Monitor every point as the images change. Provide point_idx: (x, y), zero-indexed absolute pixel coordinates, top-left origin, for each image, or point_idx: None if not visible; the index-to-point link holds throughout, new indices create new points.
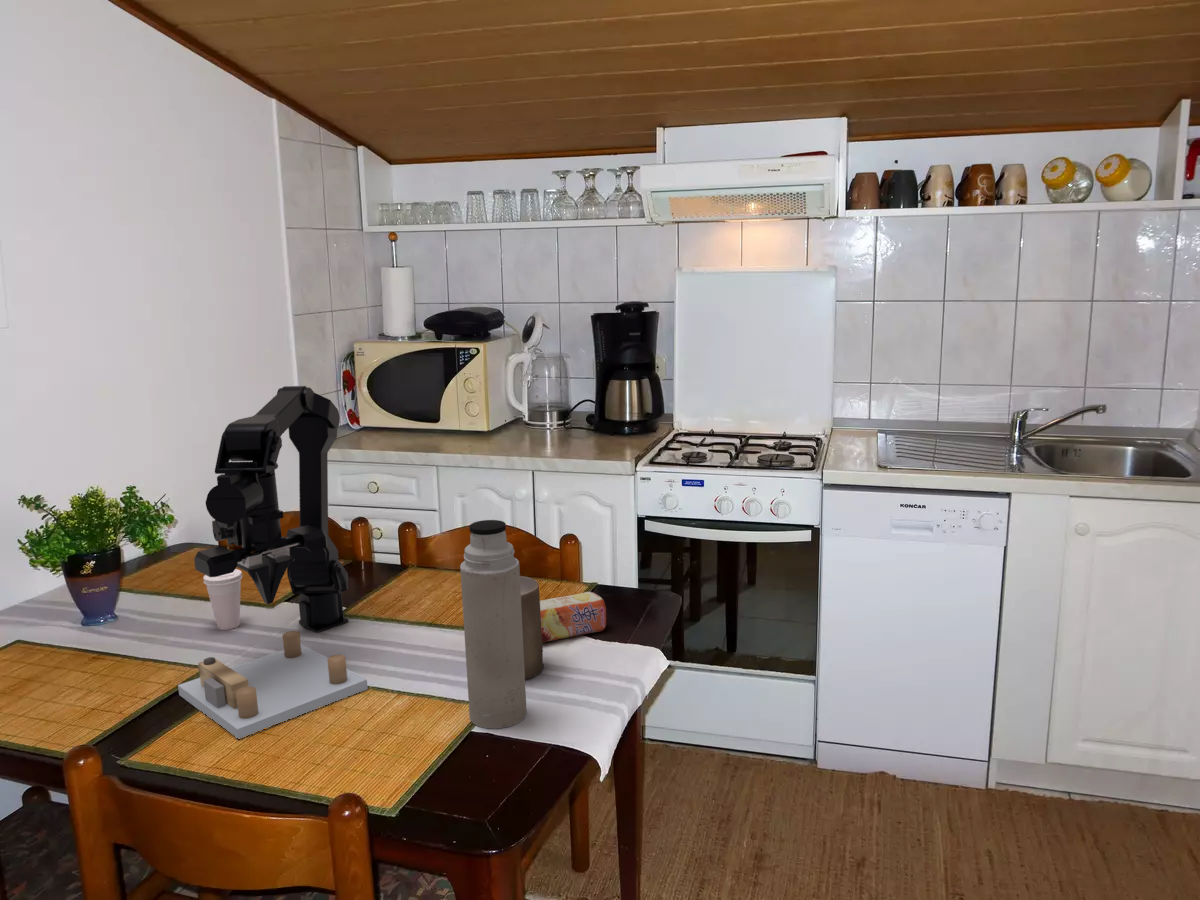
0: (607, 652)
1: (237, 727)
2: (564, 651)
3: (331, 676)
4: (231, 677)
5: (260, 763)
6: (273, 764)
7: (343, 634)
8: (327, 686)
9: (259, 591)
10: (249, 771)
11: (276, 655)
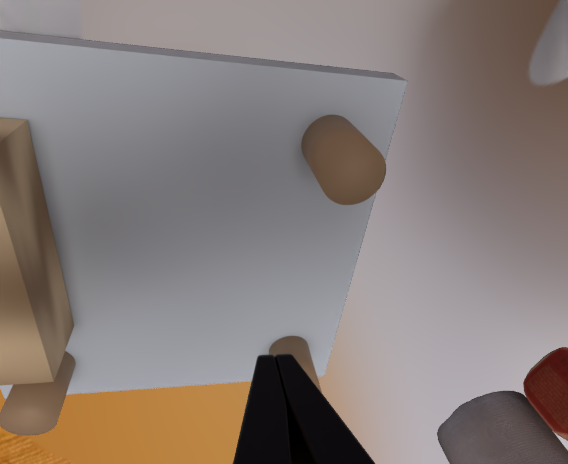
0: (563, 442)
1: (7, 393)
2: None
3: None
4: (9, 346)
5: (30, 445)
6: (49, 454)
7: (563, 52)
8: (254, 357)
9: (239, 438)
10: (5, 453)
11: (293, 99)
